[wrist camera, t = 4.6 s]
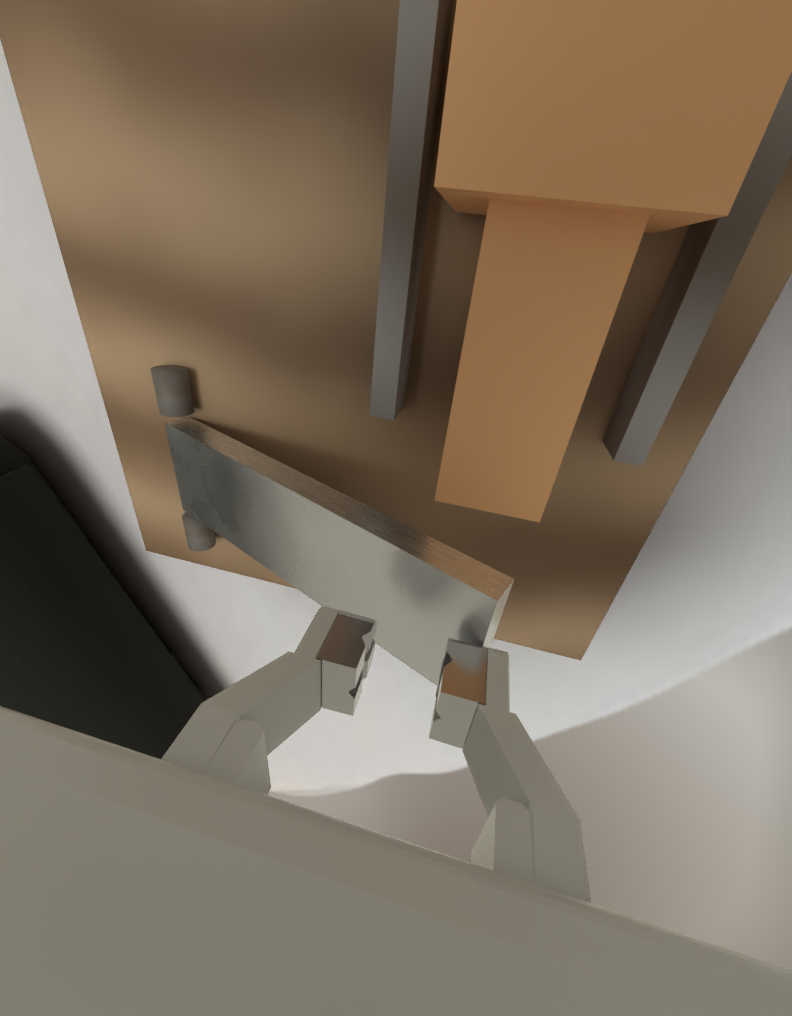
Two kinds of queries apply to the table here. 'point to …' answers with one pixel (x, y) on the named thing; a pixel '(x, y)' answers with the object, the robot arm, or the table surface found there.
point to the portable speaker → (77, 628)
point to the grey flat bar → (338, 548)
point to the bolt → (580, 196)
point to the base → (353, 279)
